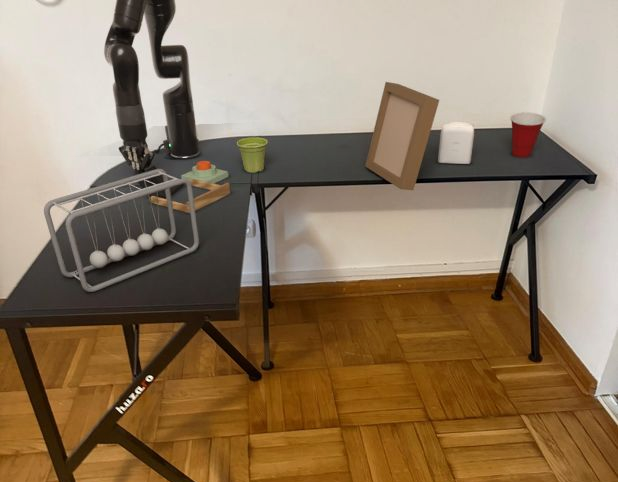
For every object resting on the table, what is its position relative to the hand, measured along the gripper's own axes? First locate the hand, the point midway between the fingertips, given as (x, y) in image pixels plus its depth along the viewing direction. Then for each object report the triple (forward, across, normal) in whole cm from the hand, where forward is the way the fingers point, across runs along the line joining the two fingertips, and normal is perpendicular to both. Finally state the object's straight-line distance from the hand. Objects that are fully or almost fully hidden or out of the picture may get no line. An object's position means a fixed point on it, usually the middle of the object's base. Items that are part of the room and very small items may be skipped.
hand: (141, 181), depth 177 cm
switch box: (+1, -12, -15) cm, 19 cm away
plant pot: (+1, -20, -29) cm, 35 cm away
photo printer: (0, -70, -68) cm, 97 cm away
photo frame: (+1, -62, -48) cm, 78 cm away
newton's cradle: (+2, -36, +36) cm, 51 cm away
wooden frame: (+1, -18, -1) cm, 19 cm away
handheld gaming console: (+2, -8, 0) cm, 8 cm away
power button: (-2, -12, -15) cm, 19 cm away
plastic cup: (0, -86, -86) cm, 121 cm away
